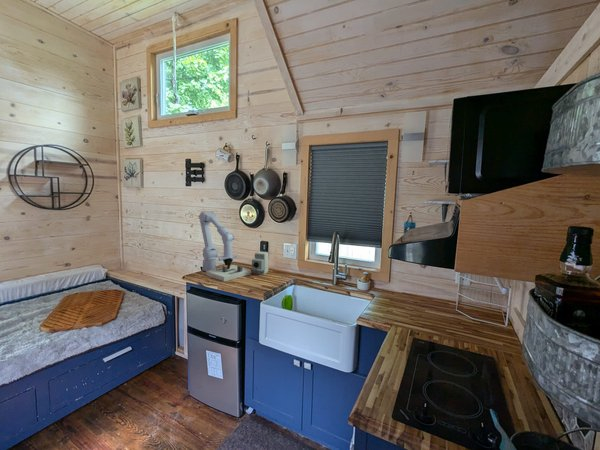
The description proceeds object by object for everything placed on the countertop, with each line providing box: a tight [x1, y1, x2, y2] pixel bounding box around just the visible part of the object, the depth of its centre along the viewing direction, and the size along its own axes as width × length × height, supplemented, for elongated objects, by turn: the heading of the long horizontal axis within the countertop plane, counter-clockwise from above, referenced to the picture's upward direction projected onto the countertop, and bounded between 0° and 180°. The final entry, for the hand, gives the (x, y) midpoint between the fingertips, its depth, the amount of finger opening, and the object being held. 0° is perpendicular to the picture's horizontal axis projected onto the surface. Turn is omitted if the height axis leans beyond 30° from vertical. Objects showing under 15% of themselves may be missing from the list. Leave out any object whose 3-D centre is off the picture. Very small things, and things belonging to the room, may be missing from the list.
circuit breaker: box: [251, 250, 270, 275], centre depth 210 cm, size 8×14×15 cm, turn 163°
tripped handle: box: [221, 264, 227, 272], centre depth 202 cm, size 3×2×4 cm, turn 52°
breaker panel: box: [205, 264, 252, 282], centre depth 205 cm, size 20×24×7 cm
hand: (227, 268), depth 204 cm, fingers closed
